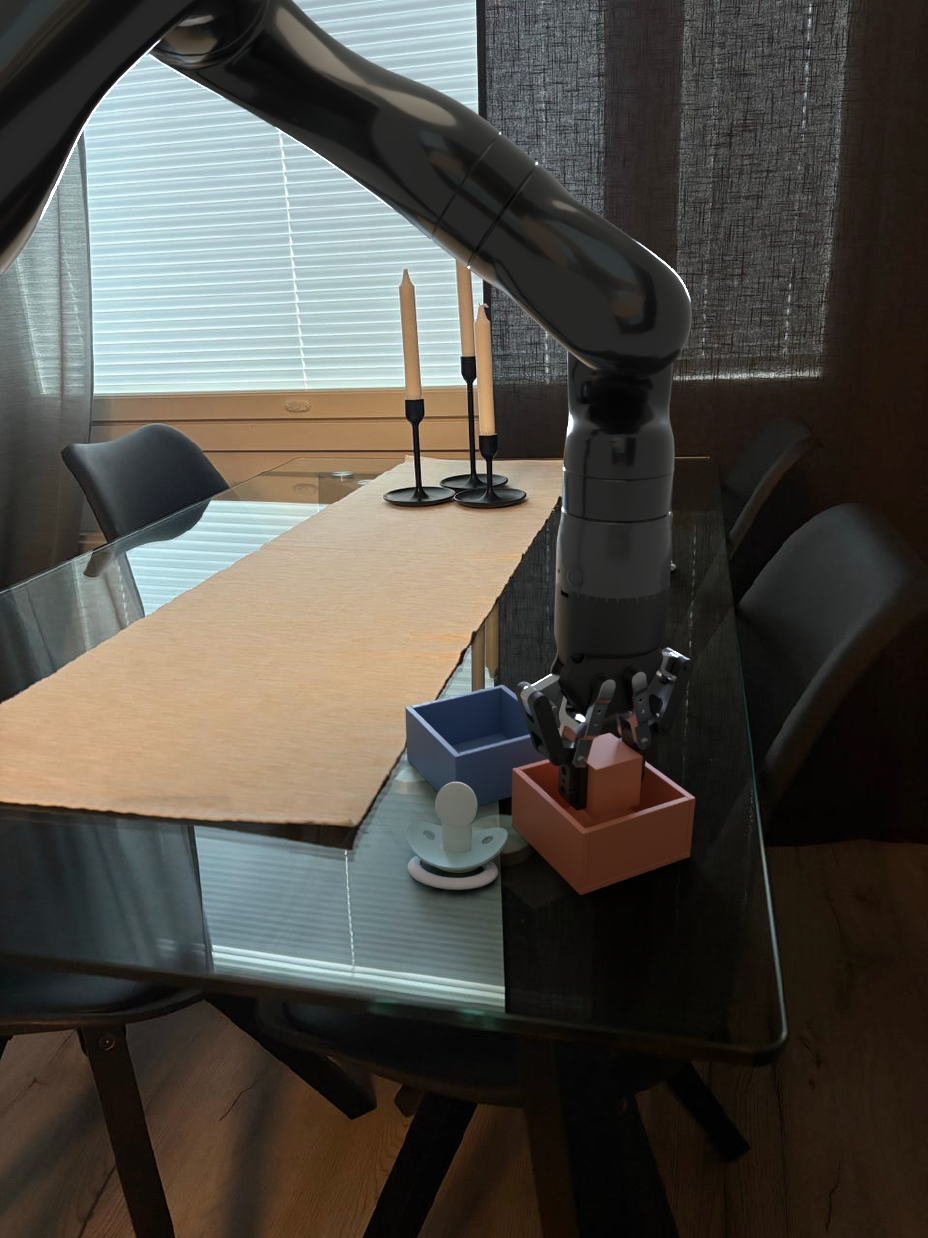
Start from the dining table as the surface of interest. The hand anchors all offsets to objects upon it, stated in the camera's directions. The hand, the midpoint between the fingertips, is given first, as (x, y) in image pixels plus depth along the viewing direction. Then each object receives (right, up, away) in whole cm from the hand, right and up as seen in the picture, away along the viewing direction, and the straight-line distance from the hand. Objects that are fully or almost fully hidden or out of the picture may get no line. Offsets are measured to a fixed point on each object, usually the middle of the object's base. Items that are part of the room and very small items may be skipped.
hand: (600, 795), depth 70 cm
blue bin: (-9, 0, +11) cm, 14 cm away
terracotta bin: (0, -4, +1) cm, 4 cm away
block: (0, 0, 0) cm, 0 cm away
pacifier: (-11, -5, -2) cm, 12 cm away
